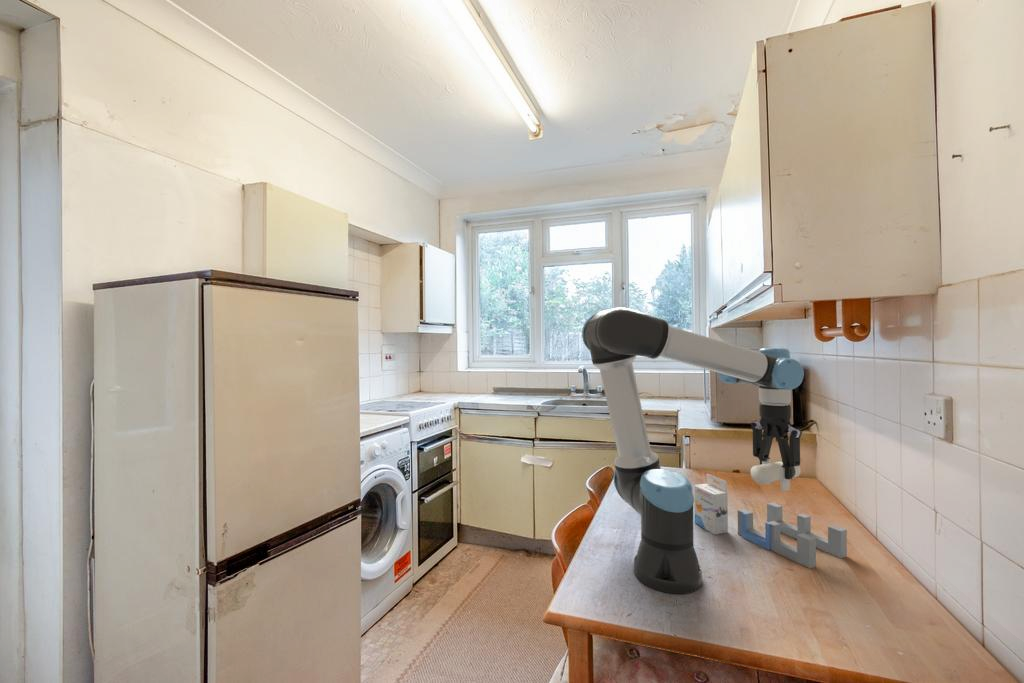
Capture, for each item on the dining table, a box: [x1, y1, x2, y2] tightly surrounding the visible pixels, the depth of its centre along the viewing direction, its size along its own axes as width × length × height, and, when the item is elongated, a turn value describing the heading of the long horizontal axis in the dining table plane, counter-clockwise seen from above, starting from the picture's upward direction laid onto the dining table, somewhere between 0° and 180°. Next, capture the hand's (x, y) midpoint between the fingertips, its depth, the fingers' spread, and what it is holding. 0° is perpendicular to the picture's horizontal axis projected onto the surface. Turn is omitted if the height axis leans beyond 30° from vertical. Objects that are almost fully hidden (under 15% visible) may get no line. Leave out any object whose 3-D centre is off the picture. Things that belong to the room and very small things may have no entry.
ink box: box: [693, 473, 729, 536], centre depth 125 cm, size 8×5×15 cm, turn 17°
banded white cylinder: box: [750, 460, 802, 485], centre depth 118 cm, size 14×5×5 cm, turn 112°
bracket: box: [737, 501, 848, 569], centre depth 115 cm, size 16×20×7 cm
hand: (775, 486), depth 118 cm, fingers closed on banded white cylinder, 5 cm apart
